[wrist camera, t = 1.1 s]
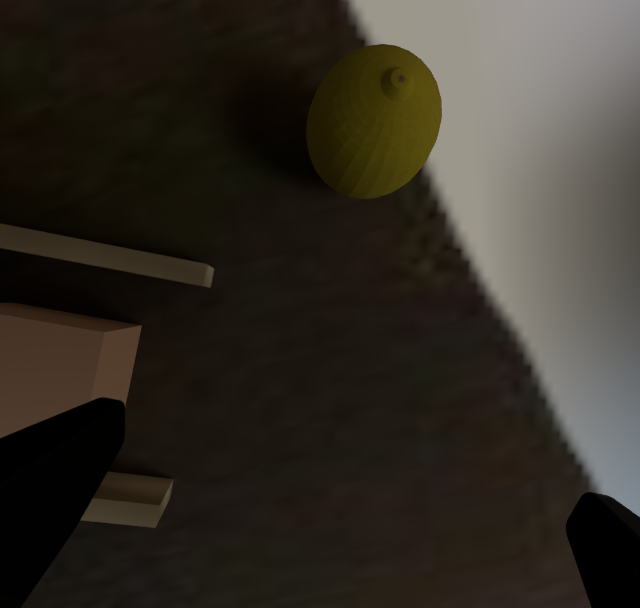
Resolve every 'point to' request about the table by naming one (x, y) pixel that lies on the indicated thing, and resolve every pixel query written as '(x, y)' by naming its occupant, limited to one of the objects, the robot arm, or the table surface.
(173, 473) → the table surface
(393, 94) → the lemon
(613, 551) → the robot arm
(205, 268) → the box
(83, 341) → the block
